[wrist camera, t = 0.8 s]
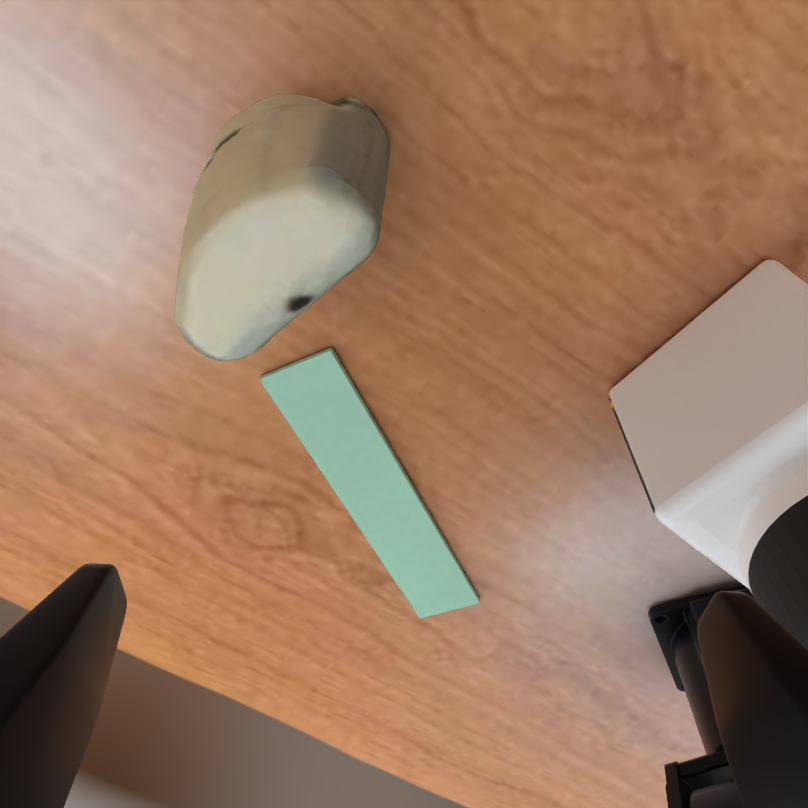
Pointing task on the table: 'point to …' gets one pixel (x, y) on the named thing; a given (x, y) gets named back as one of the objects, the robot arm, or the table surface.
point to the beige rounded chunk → (278, 219)
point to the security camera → (732, 437)
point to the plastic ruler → (369, 480)
